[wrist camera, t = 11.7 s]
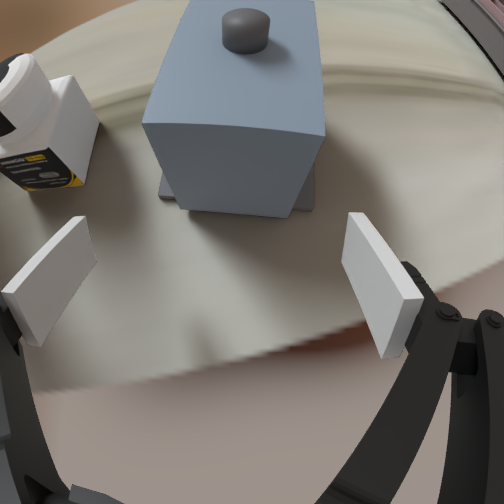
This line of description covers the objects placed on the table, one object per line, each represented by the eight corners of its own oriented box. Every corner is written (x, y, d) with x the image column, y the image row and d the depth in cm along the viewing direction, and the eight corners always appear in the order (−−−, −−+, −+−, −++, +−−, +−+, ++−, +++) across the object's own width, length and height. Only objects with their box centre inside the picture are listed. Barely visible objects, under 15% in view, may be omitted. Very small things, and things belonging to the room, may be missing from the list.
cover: (180, 209, 23) (131, 100, 11) (204, 89, 26) (192, -26, 13) (287, 218, 23) (335, 114, 11) (291, 96, 26) (318, -17, 14)
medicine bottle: (26, 192, 23) (-52, 131, 12) (44, 130, 25) (-14, 58, 13) (85, 187, 24) (10, 107, 12) (101, 120, 25) (51, 31, 14)
